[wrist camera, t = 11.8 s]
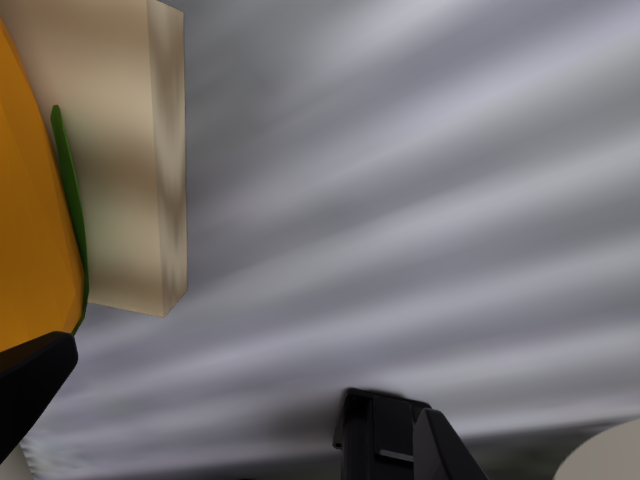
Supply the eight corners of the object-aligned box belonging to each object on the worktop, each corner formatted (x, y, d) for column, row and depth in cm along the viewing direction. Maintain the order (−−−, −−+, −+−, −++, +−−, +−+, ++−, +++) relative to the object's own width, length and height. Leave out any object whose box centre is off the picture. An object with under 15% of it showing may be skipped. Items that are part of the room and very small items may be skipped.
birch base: (187, 290, 22) (163, 317, 20) (20, 256, 23) (-26, 278, 20) (183, 12, 15) (146, -5, 13) (-56, -30, 16) (-142, -55, 13)
